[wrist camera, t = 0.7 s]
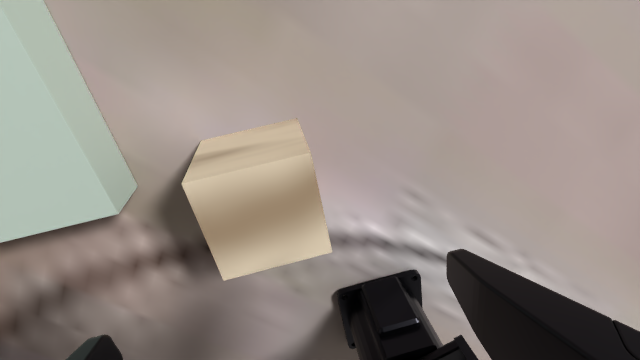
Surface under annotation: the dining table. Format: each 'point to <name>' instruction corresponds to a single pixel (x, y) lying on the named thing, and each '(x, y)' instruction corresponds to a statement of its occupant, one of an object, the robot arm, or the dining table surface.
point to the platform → (50, 132)
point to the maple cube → (257, 199)
